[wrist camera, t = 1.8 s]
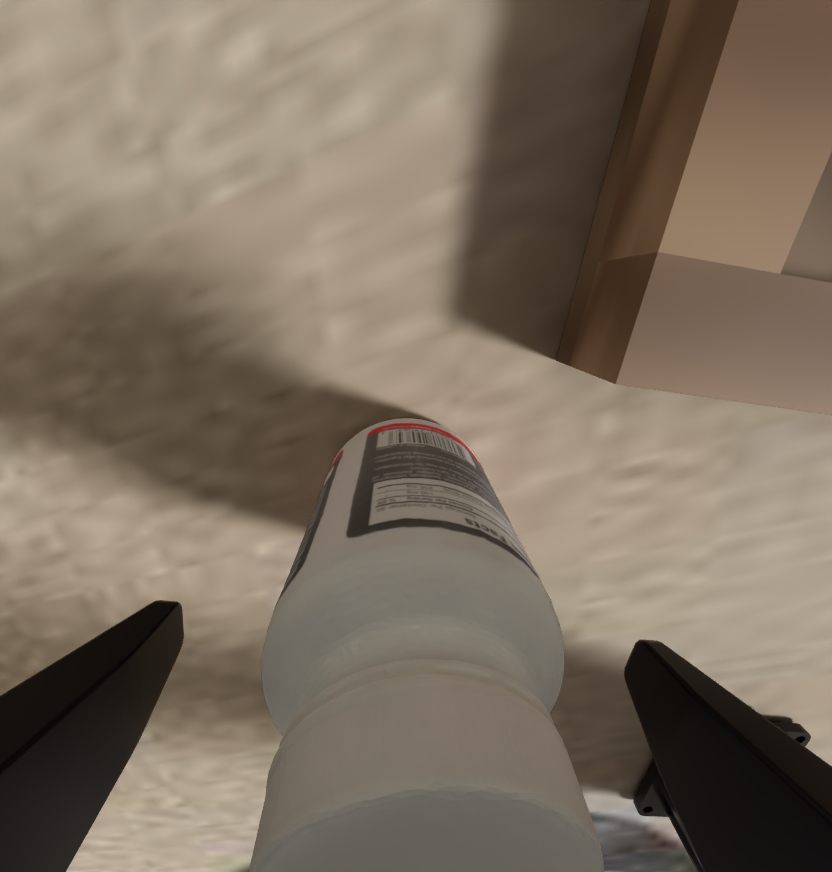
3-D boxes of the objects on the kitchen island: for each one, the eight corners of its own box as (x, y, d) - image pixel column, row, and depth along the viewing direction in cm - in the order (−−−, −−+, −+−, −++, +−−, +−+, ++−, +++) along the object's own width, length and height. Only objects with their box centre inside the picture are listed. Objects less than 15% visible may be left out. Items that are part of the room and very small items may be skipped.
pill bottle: (399, 579, 15) (401, 1055, 5) (293, 483, 13) (50, 920, 4) (514, 494, 14) (756, 900, 4) (415, 379, 12) (471, 638, 3)
